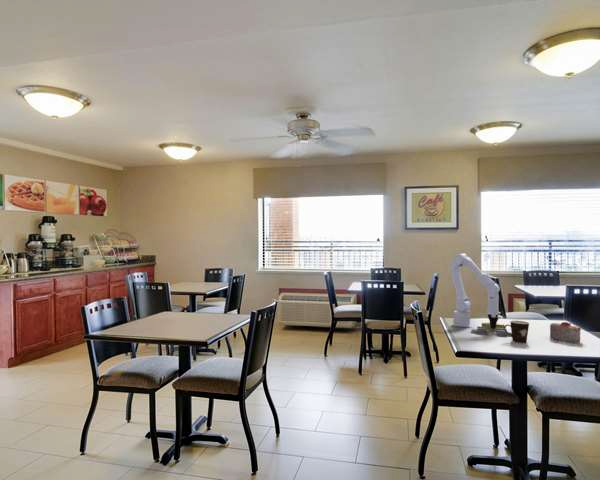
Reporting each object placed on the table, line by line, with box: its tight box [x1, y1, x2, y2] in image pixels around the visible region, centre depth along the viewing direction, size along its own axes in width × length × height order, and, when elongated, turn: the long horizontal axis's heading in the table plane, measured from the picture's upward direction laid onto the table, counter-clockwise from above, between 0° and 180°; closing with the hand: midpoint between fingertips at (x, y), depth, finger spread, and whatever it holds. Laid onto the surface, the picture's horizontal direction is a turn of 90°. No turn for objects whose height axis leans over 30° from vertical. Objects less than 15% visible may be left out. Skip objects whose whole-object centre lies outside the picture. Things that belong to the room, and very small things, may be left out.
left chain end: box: [471, 326, 488, 336], centre depth 227 cm, size 8×6×3 cm
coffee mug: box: [504, 320, 530, 344], centre depth 210 cm, size 12×9×10 cm
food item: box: [549, 321, 582, 344], centre depth 211 cm, size 14×8×10 cm, turn 41°
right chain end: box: [495, 328, 512, 337], centre depth 222 cm, size 8×6×3 cm
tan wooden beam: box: [481, 321, 506, 332], centre depth 235 cm, size 12×2×4 cm, turn 67°
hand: (492, 327), depth 235 cm, fingers open, 6 cm apart
